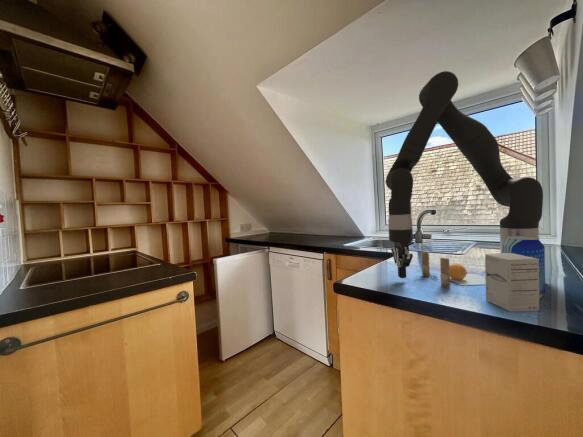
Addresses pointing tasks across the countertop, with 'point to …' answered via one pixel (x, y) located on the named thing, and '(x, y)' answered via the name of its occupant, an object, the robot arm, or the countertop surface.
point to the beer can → (528, 253)
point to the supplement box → (512, 281)
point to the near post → (445, 272)
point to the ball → (457, 272)
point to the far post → (425, 263)
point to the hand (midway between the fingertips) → (402, 277)
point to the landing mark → (470, 280)
